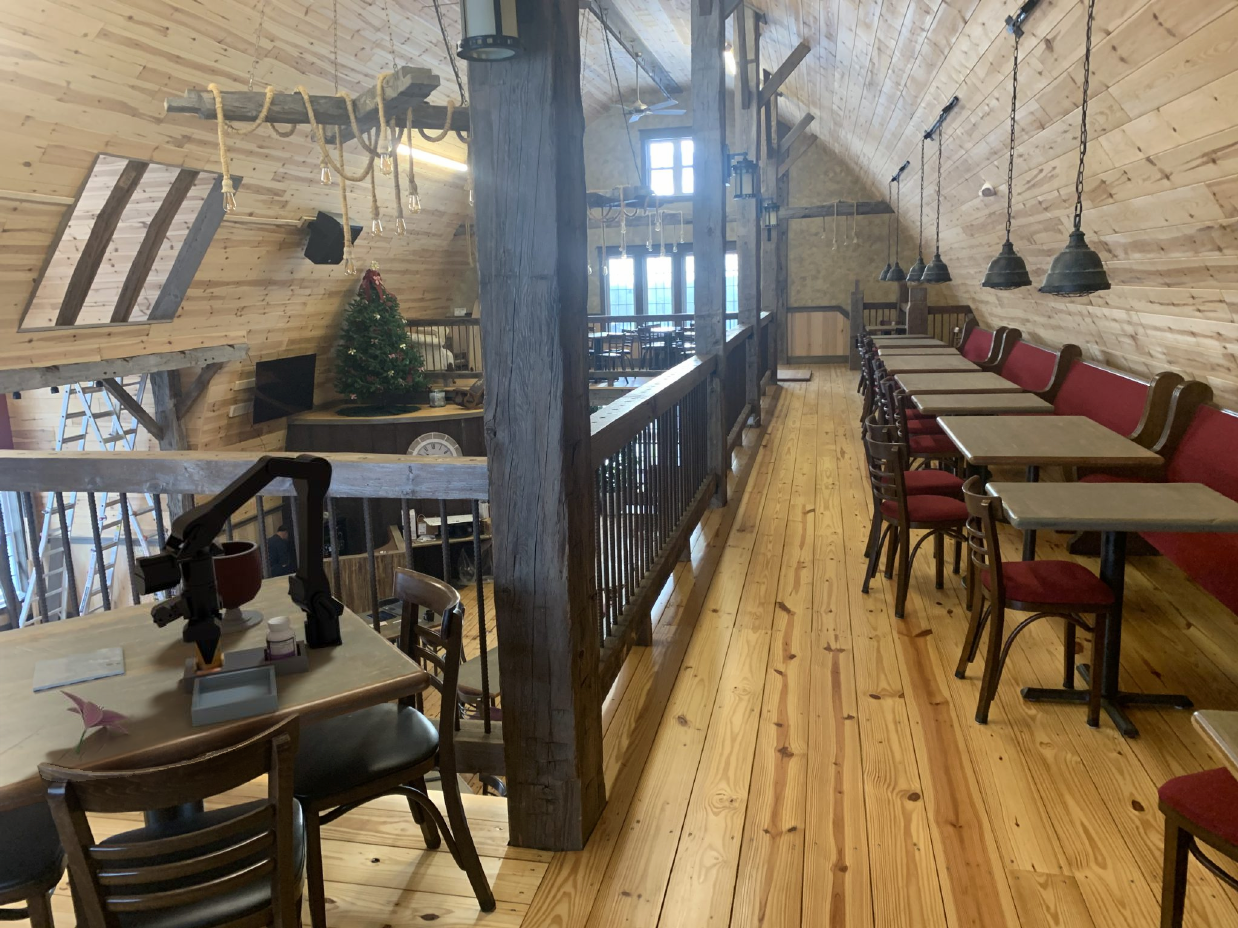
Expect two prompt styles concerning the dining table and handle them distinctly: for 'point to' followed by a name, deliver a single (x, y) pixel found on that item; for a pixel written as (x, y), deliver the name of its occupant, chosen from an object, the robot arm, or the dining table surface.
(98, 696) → the dining table surface
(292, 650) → the pill bottle
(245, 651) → the block
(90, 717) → the lily
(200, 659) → the supplement box
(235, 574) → the mate gourd
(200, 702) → the tray
